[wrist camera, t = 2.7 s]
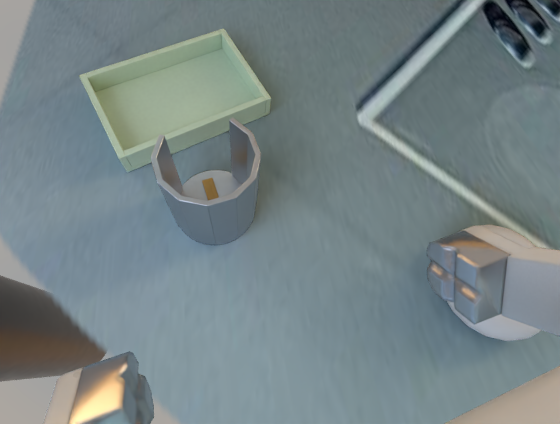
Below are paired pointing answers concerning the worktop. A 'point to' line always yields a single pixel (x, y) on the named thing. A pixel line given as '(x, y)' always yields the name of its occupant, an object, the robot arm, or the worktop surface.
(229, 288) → the worktop surface
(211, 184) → the key
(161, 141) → the steel cup
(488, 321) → the donut
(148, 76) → the tray
